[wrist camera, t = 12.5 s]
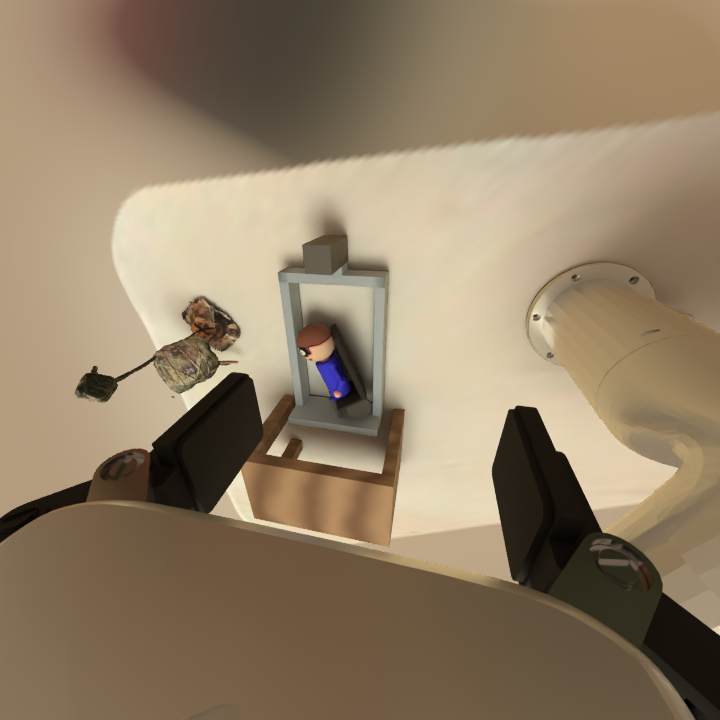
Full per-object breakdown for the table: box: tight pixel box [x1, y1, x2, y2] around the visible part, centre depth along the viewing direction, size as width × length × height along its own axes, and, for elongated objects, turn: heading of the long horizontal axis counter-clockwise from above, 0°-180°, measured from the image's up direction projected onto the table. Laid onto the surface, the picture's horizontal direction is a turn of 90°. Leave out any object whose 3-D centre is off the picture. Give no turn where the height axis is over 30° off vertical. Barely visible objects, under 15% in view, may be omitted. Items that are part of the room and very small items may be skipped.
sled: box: [278, 236, 389, 437], centre depth 41 cm, size 13×26×7 cm, turn 0°
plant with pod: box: [74, 298, 240, 403], centre depth 40 cm, size 8×11×20 cm
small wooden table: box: [241, 395, 405, 547], centre depth 47 cm, size 20×12×15 cm, turn 90°
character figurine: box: [297, 324, 371, 419], centre depth 43 cm, size 8×7×15 cm
